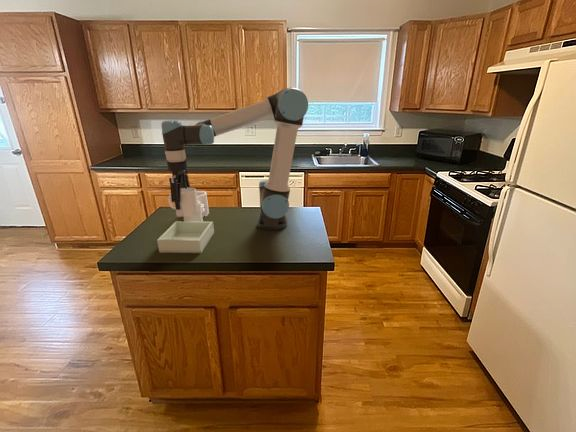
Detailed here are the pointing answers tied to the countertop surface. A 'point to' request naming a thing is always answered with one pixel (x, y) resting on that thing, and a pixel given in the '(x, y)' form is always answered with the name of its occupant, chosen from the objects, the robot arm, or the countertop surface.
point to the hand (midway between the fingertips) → (184, 212)
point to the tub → (186, 237)
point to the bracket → (199, 207)
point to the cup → (187, 201)
